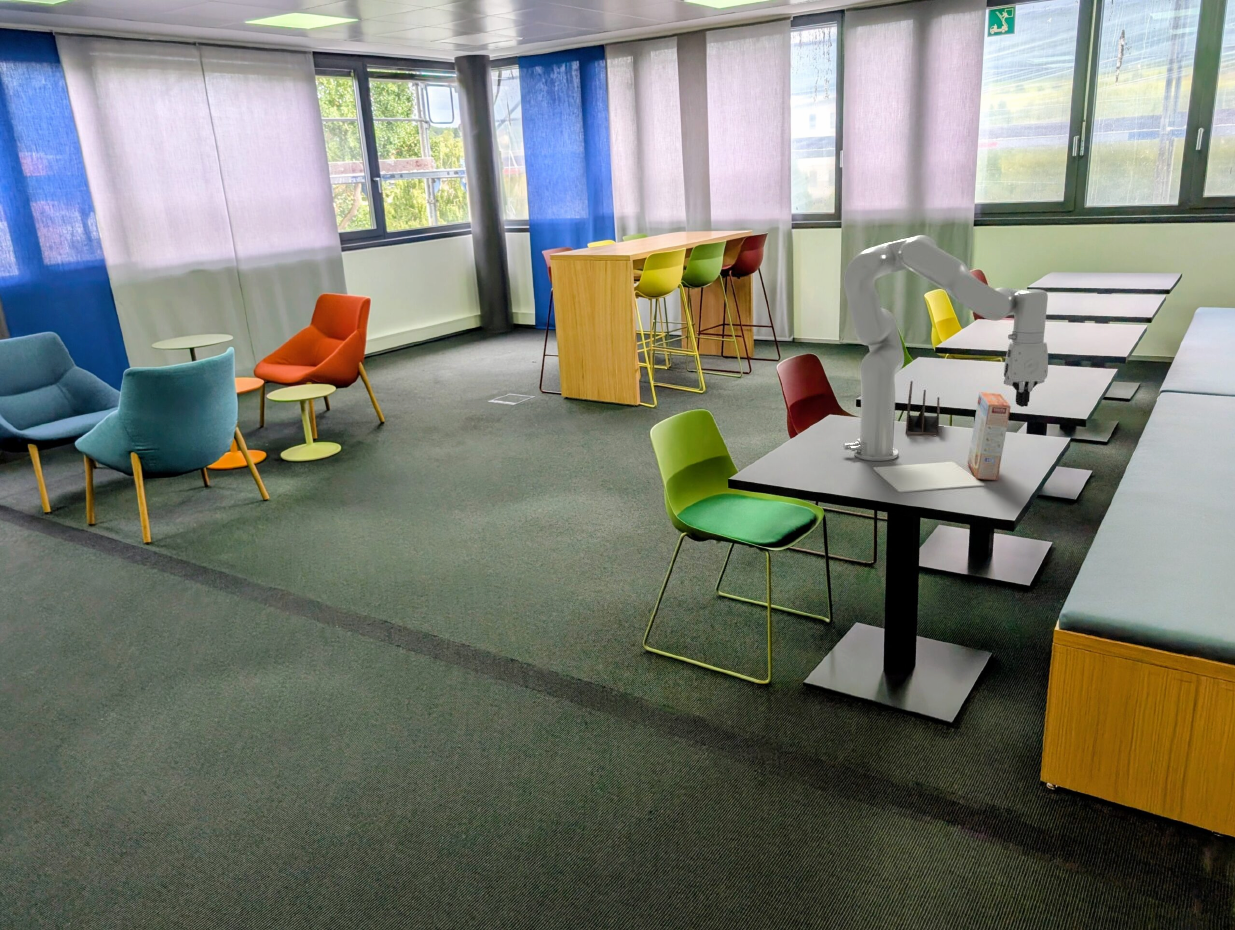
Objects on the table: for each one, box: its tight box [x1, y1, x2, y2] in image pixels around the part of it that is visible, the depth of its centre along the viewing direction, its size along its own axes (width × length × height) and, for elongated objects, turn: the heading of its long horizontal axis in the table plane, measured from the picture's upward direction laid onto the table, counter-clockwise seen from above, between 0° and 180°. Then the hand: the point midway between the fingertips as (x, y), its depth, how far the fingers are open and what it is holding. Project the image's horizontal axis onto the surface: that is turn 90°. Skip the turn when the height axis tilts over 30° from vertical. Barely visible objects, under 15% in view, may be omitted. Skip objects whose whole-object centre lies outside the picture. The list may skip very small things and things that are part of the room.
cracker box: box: [967, 392, 1012, 482], centre depth 246 cm, size 14×6×21 cm, turn 168°
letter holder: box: [905, 380, 940, 436], centre depth 292 cm, size 10×20×14 cm, turn 161°
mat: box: [873, 461, 986, 493], centre depth 249 cm, size 23×20×1 cm
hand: (1021, 405), depth 244 cm, fingers closed
